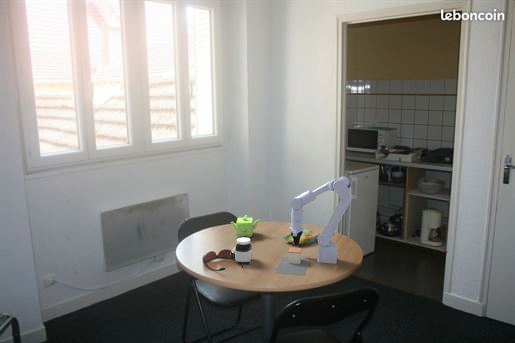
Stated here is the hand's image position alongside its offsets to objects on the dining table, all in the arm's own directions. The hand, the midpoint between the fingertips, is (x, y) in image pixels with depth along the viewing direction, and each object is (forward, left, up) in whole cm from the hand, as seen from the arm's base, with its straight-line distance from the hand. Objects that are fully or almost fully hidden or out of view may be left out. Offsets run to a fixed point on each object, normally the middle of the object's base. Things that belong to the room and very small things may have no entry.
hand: (296, 245), depth 228 cm
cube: (0, +8, -6) cm, 10 cm away
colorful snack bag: (0, -23, -7) cm, 24 cm away
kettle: (+34, -27, -6) cm, 44 cm away
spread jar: (+27, +11, -6) cm, 30 cm away
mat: (0, +14, -6) cm, 15 cm away
